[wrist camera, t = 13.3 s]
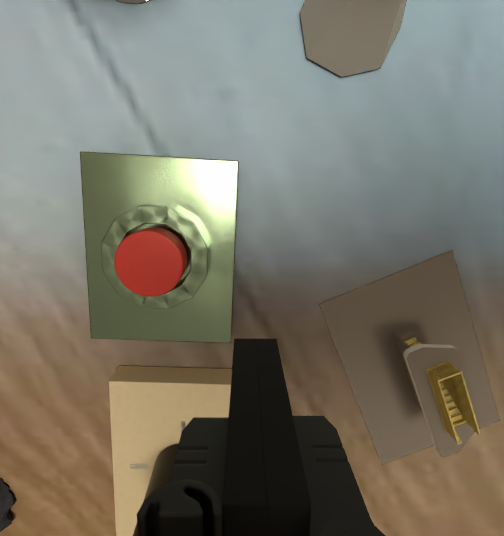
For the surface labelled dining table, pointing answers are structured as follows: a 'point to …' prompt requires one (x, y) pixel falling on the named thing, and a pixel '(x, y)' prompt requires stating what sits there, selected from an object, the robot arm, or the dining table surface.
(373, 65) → the flask
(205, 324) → the button housing
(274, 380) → the robot arm
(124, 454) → the timer panel
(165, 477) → the dial
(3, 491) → the black cloth
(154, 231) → the button
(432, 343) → the platform
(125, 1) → the wine glass
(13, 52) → the dining table surface
